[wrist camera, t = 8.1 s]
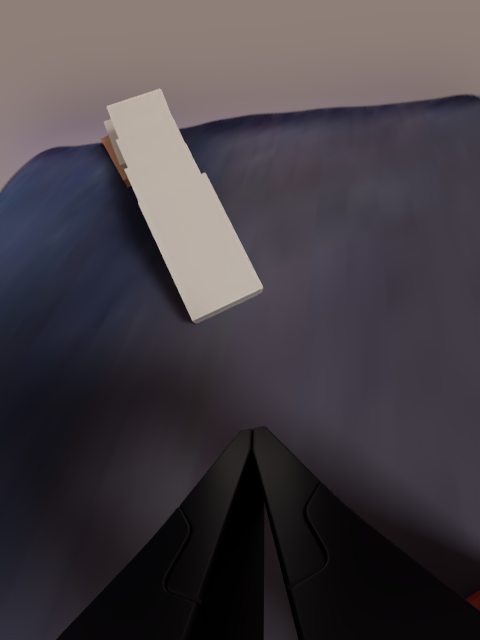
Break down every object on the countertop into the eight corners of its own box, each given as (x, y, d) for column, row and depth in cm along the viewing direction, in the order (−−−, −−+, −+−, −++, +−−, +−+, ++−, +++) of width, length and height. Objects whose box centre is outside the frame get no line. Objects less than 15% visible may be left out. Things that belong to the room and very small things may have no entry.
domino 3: (216, 211, 23) (173, 117, 24) (157, 236, 23) (115, 140, 24) (218, 220, 25) (176, 131, 26) (162, 244, 25) (123, 153, 26)
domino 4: (197, 180, 26) (160, 88, 26) (142, 199, 25) (106, 106, 26) (199, 189, 27) (164, 102, 28) (147, 207, 27) (113, 119, 28)
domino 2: (236, 246, 21) (185, 143, 22) (172, 275, 21) (123, 169, 22) (236, 253, 23) (189, 157, 24) (177, 280, 23) (131, 181, 24)
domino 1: (263, 287, 19) (205, 172, 20) (192, 321, 19) (137, 202, 20) (261, 293, 21) (207, 185, 22) (195, 323, 20) (144, 213, 22)
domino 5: (170, 144, 28) (146, 104, 32) (119, 165, 27) (103, 121, 32) (175, 159, 29) (152, 118, 34) (127, 179, 29) (111, 135, 33)
